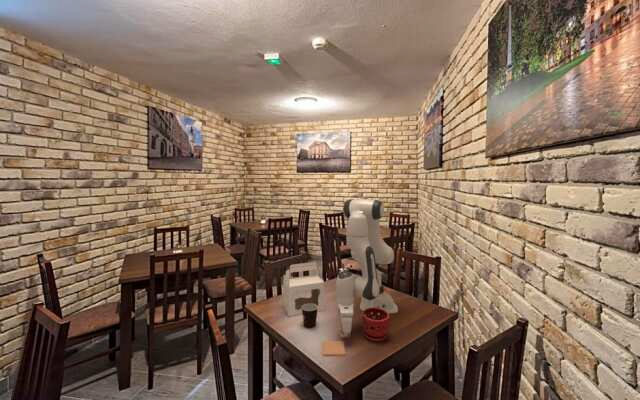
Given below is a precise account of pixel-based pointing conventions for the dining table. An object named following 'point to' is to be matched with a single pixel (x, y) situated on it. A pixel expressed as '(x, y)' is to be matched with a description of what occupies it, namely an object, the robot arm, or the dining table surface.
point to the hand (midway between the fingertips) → (344, 331)
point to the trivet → (333, 348)
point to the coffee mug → (309, 315)
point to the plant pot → (375, 324)
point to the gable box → (303, 288)
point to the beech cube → (343, 332)
